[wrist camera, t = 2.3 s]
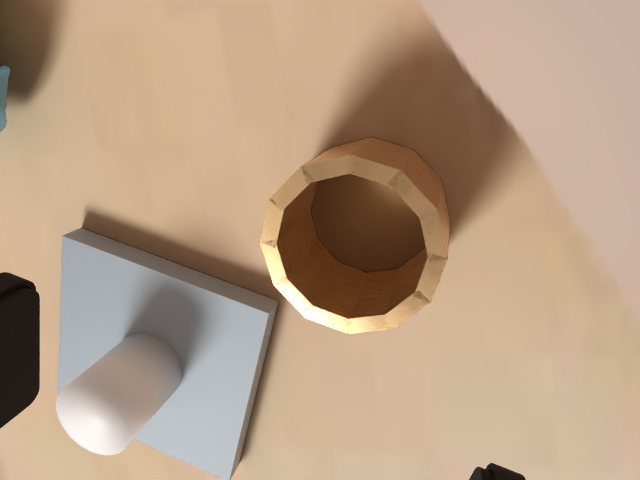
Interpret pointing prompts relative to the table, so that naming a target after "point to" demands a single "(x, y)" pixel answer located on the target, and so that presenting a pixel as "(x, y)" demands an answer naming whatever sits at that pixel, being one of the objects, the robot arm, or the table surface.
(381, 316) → the ring
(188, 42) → the table surface
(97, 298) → the block
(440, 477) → the table surface
